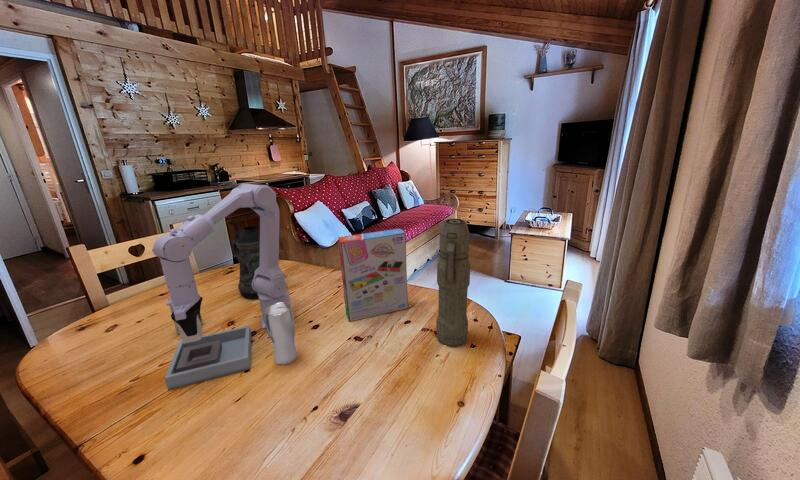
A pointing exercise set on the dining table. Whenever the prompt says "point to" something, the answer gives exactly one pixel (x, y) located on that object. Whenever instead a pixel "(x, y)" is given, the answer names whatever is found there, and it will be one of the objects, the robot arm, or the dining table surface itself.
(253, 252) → the beer stein
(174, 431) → the dining table surface
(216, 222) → the robot arm
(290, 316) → the beer glass
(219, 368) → the inlet box
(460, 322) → the thermos
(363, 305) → the game box
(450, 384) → the dining table surface
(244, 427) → the dining table surface
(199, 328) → the plug
